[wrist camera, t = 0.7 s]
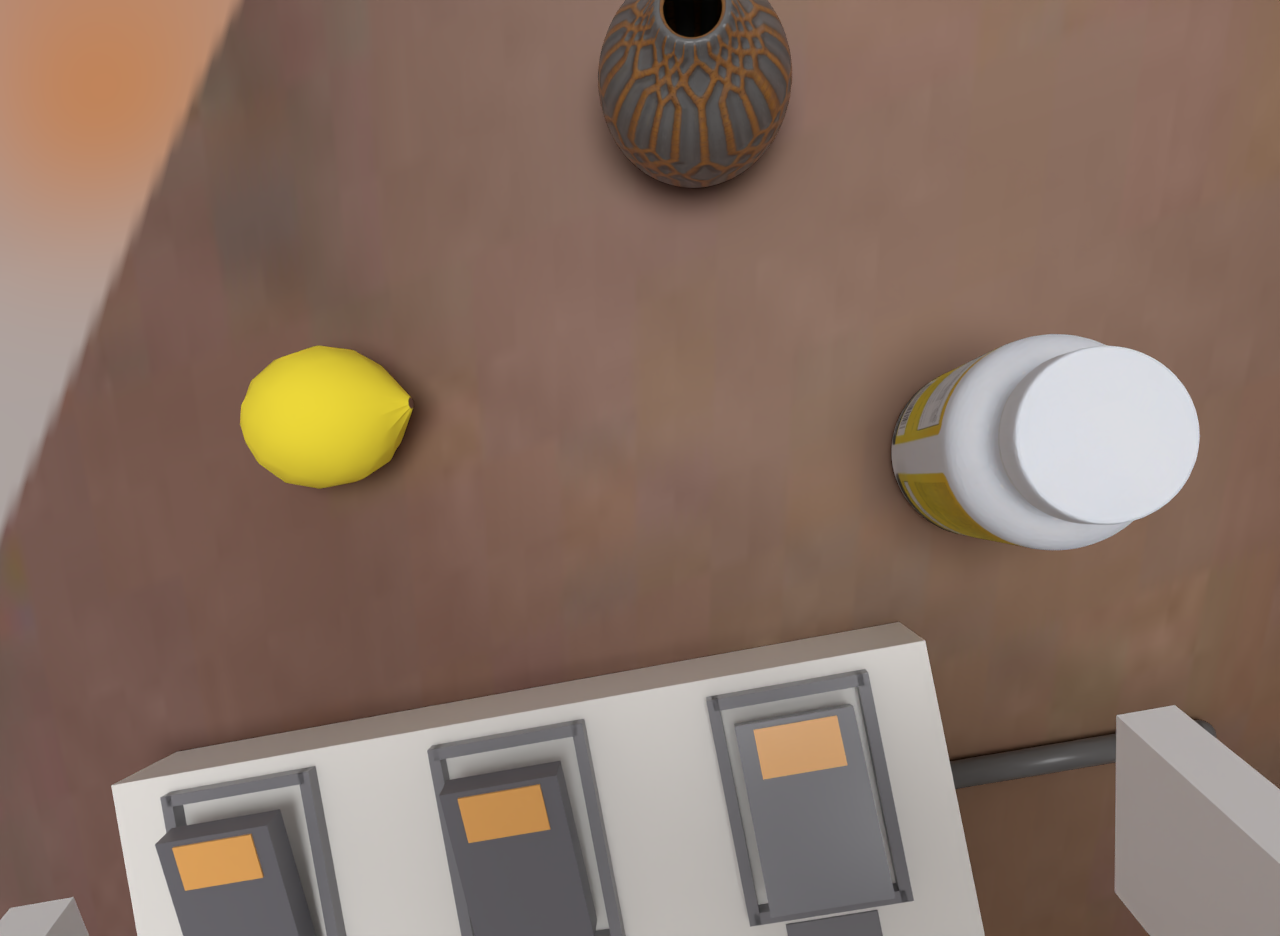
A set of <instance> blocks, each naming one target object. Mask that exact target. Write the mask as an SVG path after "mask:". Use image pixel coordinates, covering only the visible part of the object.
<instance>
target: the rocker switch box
mask: <svg viewBox="0 0 1280 936" xmlns="http://www.w3.org/2000/svg"><path fill="white" fill-rule="evenodd" d="M844 704H851V705H853V707H854V711H855V716H856V720H857V725H858V729H859V734H860V738H861V743H862V748H863V752H864V757H865V761H866V766H867V770H868V775H869V779H870V784H871V789H872V793H873V798H874V802H875V807H876V811H877V816H878V820H879V825H880V830H881V834H882V839H883V843H884V848H885V852H886V857H887V861H888V866H889V870H890V875H891V880H892V884H893V889H894V893H895V898H893V899H887V900H881V901H874V902H868V903H862V904H856V905H849V906H843V907H837V908H830V909H824V910H818V911H811V912H805V913H799V914H792V915H786V916H780V917H773V918H771V914H770V909H769V904H768V899H767V894H766V888H765V883H764V878H763V873H762V868H761V862H760V857H759V852H758V847H757V842H756V836H755V831H754V826H753V821H752V816H751V810H750V805H749V800H748V795H747V790H746V784H745V779H744V774H743V769H742V763H741V758H740V753H739V748H738V743H737V737H736V732H735V727H734V724H735V723H741V722H747V721H753V720H758V719H764V718H770V717H776V716H781V715H787V714H793V713H799V712H804V711H810V710H816V709H822V708H827V707H833V706H839V705H844ZM1194 721H1195V722H1196V723H1198V724H1199V725H1200V726H1201V727H1203V728H1204V729H1205V730H1206V731H1208V732H1209V733H1210V734H1211V735H1213V736H1214V737H1215V738H1216V732H1215V729H1214V728H1213V726H1212V725H1210V724H1209V723H1208V722H1206V721H1203V720H1194ZM555 761H561V765H562V769H563V773H564V778H565V782H566V786H567V791H568V795H569V799H570V804H571V808H572V812H573V817H574V821H575V825H576V829H577V834H578V838H579V842H580V847H581V851H582V855H583V860H584V864H585V868H586V873H587V877H588V881H589V885H590V890H591V894H592V898H593V903H594V907H595V911H596V916H597V924H596V932H595V936H985V934H984V929H983V924H982V919H981V914H980V909H979V904H978V899H977V895H976V890H975V885H974V880H973V875H972V870H971V865H970V860H969V855H968V850H967V845H966V840H965V835H964V830H963V825H962V820H961V815H960V810H959V806H958V801H957V796H956V791H955V789H958V788H964V787H970V786H976V785H983V784H989V783H995V782H1001V781H1007V780H1013V779H1019V778H1025V777H1031V776H1037V775H1043V774H1049V773H1055V772H1061V771H1067V770H1073V769H1079V768H1085V767H1091V766H1097V765H1103V764H1109V763H1115V762H1116V734H1110V735H1104V736H1098V737H1092V738H1086V739H1080V740H1074V741H1068V742H1062V743H1056V744H1050V745H1044V746H1038V747H1032V748H1026V749H1020V750H1014V751H1009V752H1003V753H997V754H991V755H985V756H979V757H973V758H967V759H961V760H955V761H949V756H948V751H947V746H946V741H945V736H944V731H943V726H942V721H941V717H940V712H939V707H938V702H937V697H936V692H935V687H934V682H933V677H932V672H931V667H930V662H929V657H928V652H927V647H926V642H925V640H924V639H922V638H921V637H920V636H918V635H917V634H915V633H914V632H913V631H911V630H910V629H909V628H907V627H906V626H904V625H903V624H902V623H900V622H896V623H890V624H885V625H879V626H874V627H868V628H862V629H857V630H851V631H846V632H840V633H835V634H829V635H824V636H818V637H812V638H807V639H801V640H796V641H790V642H785V643H779V644H774V645H768V646H762V647H757V648H751V649H746V650H740V651H735V652H729V653H723V654H718V655H712V656H707V657H701V658H696V659H690V660H685V661H679V662H673V663H668V664H662V665H657V666H651V667H646V668H640V669H635V670H629V671H623V672H618V673H612V674H607V675H601V676H596V677H590V678H585V679H579V680H573V681H568V682H562V683H557V684H551V685H546V686H540V687H534V688H529V689H523V690H518V691H512V692H507V693H501V694H496V695H490V696H484V697H479V698H473V699H468V700H462V701H457V702H451V703H446V704H440V705H434V706H429V707H423V708H418V709H412V710H407V711H401V712H396V713H390V714H384V715H379V716H373V717H368V718H362V719H357V720H351V721H346V722H340V723H334V724H329V725H323V726H318V727H312V728H307V729H301V730H295V731H290V732H284V733H279V734H273V735H268V736H262V737H257V738H251V739H245V740H240V741H234V742H229V743H223V744H218V745H212V746H207V747H201V748H195V749H190V750H184V751H179V752H175V753H173V754H171V755H169V756H168V757H166V758H164V759H162V760H160V761H158V762H156V763H154V764H152V765H150V766H148V767H146V768H144V769H142V770H140V771H138V772H136V773H134V774H133V775H131V776H129V777H127V778H125V779H123V780H121V781H119V782H117V783H115V784H113V785H111V787H112V792H113V798H114V804H115V809H116V815H117V821H118V827H119V832H120V838H121V844H122V849H123V855H124V861H125V867H126V872H127V878H128V884H129V889H130V895H131V901H132V907H133V912H134V918H135V924H136V929H137V935H138V936H183V934H182V931H181V927H180V924H179V921H178V918H177V914H176V911H175V908H174V905H173V902H172V898H171V895H170V892H169V889H168V885H167V882H166V879H165V876H164V873H163V869H162V866H161V863H160V860H159V856H158V853H157V850H156V847H155V844H156V843H157V842H158V841H159V840H160V839H161V838H162V837H163V836H164V835H165V834H166V833H167V832H168V831H169V830H170V829H171V828H175V827H180V826H186V825H192V824H198V823H204V822H209V821H215V820H221V819H227V818H232V817H238V816H244V815H250V814H255V813H261V812H267V811H273V810H278V809H280V810H281V814H282V817H283V821H284V824H285V828H286V831H287V835H288V838H289V842H290V845H291V849H292V852H293V856H294V859H295V863H296V866H297V870H298V873H299V877H300V880H301V884H302V887H303V891H304V894H305V898H306V902H307V905H308V909H309V912H310V916H311V919H312V923H313V926H314V930H315V933H316V936H475V934H474V930H473V927H472V923H471V919H470V915H469V911H468V907H467V903H466V899H465V895H464V891H463V887H462V883H461V880H460V876H459V872H458V868H457V864H456V860H455V856H454V852H453V848H452V844H451V840H450V837H449V833H448V829H447V825H446V821H445V817H444V813H443V809H442V805H441V801H440V797H439V795H440V793H441V791H442V789H443V787H444V785H445V783H446V781H447V780H451V779H457V778H463V777H469V776H474V775H480V774H486V773H492V772H497V771H503V770H509V769H515V768H520V767H526V766H532V765H538V764H543V763H549V762H555Z"/></svg>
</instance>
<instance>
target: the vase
mask: <svg viewBox="0 0 1280 936" xmlns="http://www.w3.org/2000/svg"><path fill="white" fill-rule="evenodd" d="M791 84H792V63H791V54H790V49H789V45H788V41H787V38H786V34H785V32H784V29H783V27H782V24H781V22H780V20H779V18H778V16H777V14H776V12H775V11H774V9H773V8H772V6H771V5H770V3H769V2H768V0H625V2H624V3H623V4H622V5H621V7H620V8H619V10H618V11H617V13H616V15H615V17H614V18H613V20H612V22H611V24H610V26H609V29H608V31H607V34H606V37H605V39H604V43H603V46H602V51H601V55H600V61H599V71H598V88H599V96H600V101H601V107H602V111H603V114H604V117H605V120H606V123H607V125H608V128H609V130H610V132H611V134H612V136H613V138H614V140H615V142H616V143H617V145H618V146H619V148H620V149H621V151H622V152H623V153H624V155H625V156H626V157H627V158H628V159H629V160H630V161H631V162H632V163H633V164H634V165H635V166H637V167H638V168H639V169H640V170H642V171H643V172H644V173H646V174H647V175H649V176H651V177H653V178H654V179H657V180H659V181H661V182H664V183H667V184H670V185H674V186H679V187H687V188H699V187H707V186H712V185H716V184H719V183H722V182H725V181H727V180H730V179H732V178H734V177H736V176H737V175H739V174H741V173H742V172H744V171H745V170H747V169H748V168H749V167H750V166H752V165H753V164H754V163H755V162H756V161H757V160H758V159H759V158H760V157H761V156H762V155H763V154H764V152H765V151H766V150H767V149H768V147H769V146H770V145H771V143H772V142H773V140H774V138H775V136H776V135H777V133H778V131H779V128H780V126H781V124H782V121H783V119H784V116H785V113H786V110H787V106H788V103H789V98H790V92H791Z"/></svg>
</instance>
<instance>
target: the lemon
mask: <svg viewBox="0 0 1280 936" xmlns="http://www.w3.org/2000/svg"><path fill="white" fill-rule="evenodd" d="M413 407H414V402H413V399H412V398H411V397H410V396H409V395H408V393H407V392H406V391H405V390H404V389H403V388H402V387H401V386H400V385H399V384H398V383H397V381H396V380H395V379H394V378H393V377H392V376H391V375H390V374H389V373H388V372H387V371H386V370H385V369H384V368H383V367H382V366H381V365H379V364H378V363H376V362H374V361H372V360H370V359H368V358H367V357H365V356H363V355H361V354H359V353H358V352H356V351H354V350H350V349H341V348H333V347H325V346H314V347H311V348H307V349H304V350H301V351H299V352H296V353H293V354H290V355H287V356H284V357H281V358H279V359H276V360H274V361H273V362H272V363H271V364H270V365H268V366H267V367H266V368H265V369H264V370H263V371H262V372H261V373H260V374H258V375H257V376H256V377H255V378H254V379H253V380H252V381H251V383H250V385H249V388H248V391H247V394H246V397H245V400H244V401H243V403H242V405H241V418H240V425H241V428H242V432H243V435H244V438H245V442H246V444H247V445H248V447H249V448H250V450H251V452H252V453H253V455H254V457H255V458H256V460H257V461H258V463H259V464H260V465H262V466H263V467H265V468H266V469H267V470H269V471H270V472H272V473H273V474H274V475H276V476H277V477H278V478H280V479H281V480H283V481H284V482H285V483H291V484H297V485H302V486H308V487H314V488H319V489H320V488H326V487H331V486H337V485H342V484H348V483H353V482H356V481H358V480H361V479H363V478H365V477H367V476H368V475H370V474H371V473H373V472H374V471H376V470H377V469H379V468H380V467H382V466H383V465H385V464H386V463H388V462H389V461H391V459H392V457H393V455H394V453H395V451H396V449H397V447H398V446H399V445H400V444H401V441H402V438H403V436H404V433H405V430H406V427H407V424H408V421H409V418H410V416H411V413H412V410H413Z"/></svg>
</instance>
